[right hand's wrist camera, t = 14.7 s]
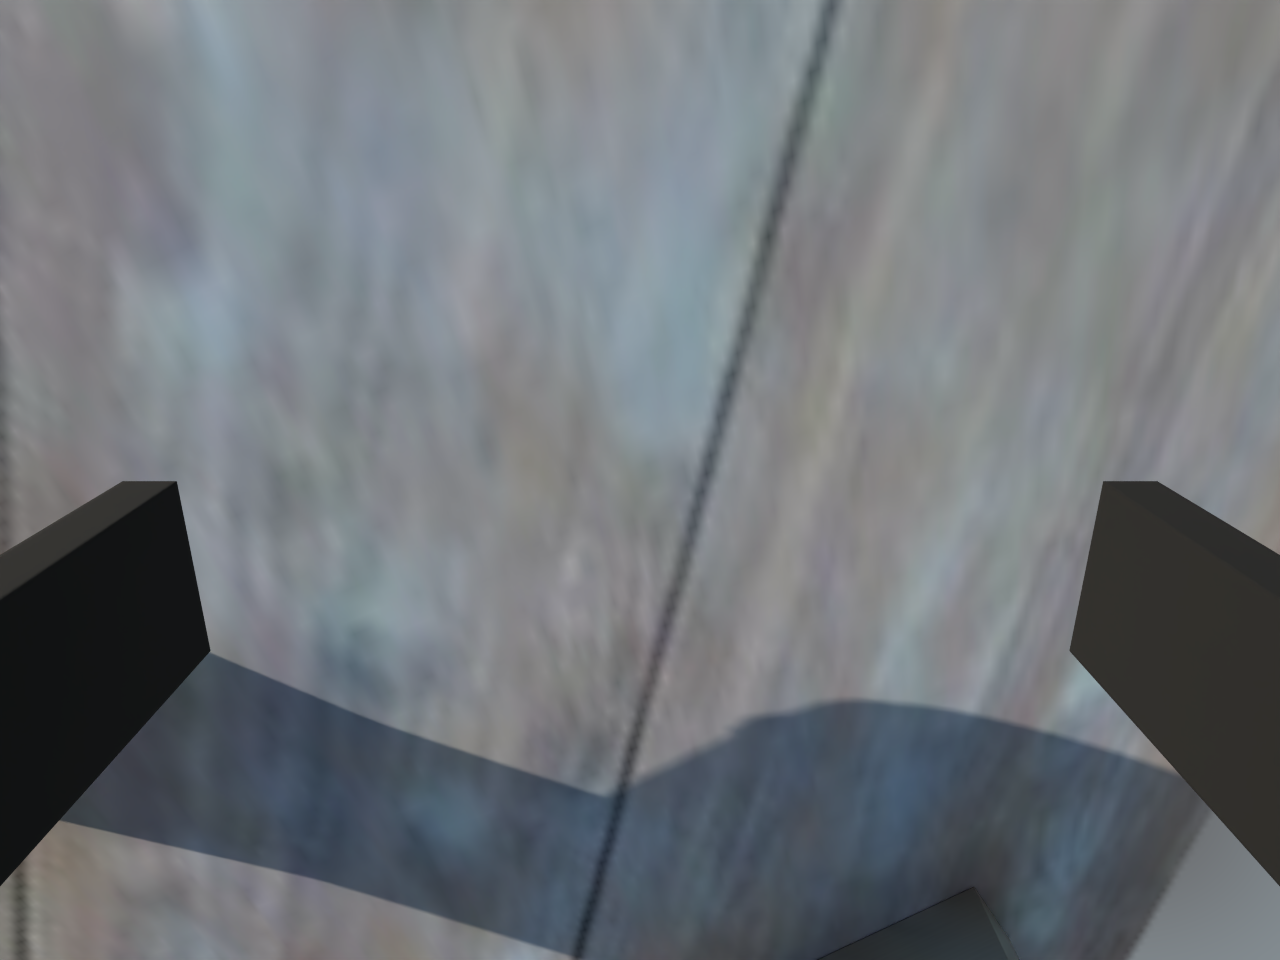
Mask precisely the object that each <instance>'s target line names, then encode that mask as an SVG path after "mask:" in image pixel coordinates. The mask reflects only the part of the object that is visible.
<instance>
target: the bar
mask: <svg viewBox="0 0 1280 960" xmlns="http://www.w3.org/2000/svg"><path fill="white" fill-rule="evenodd" d="M819 960H1019V958H1018V956H1017V954H1016V952H1015V950H1014V948H1013V946H1012V944H1011V942H1010V940H1009V938H1008V937H1007V935H1006V934H1005V932H1004V931H1003V929H1002V928H1001V926H1000V925H999V923H998V922H997V920H996V919H995V917H994V916H993V914H992V913H991V911H990V910H989V908H988V907H987V905H986V904H985V902H984V901H983V899H982V898H981V896H980V895H979V893H978V892H977V890H976V889H975V888H974V887H973V888H971V889H969V890H967V891H964V892H962V893H960V894H958V895H956V896H954V897H952V898H949V899H947V900H945V901H943V902H941V903H939V904H937V905H934V906H932V907H930V908H928V909H926V910H924V911H922V912H919V913H917V914H915V915H913V916H911V917H909V918H907V919H904V920H902V921H900V922H898V923H896V924H894V925H892V926H889V927H887V928H885V929H883V930H881V931H879V932H877V933H874V934H872V935H870V936H868V937H866V938H864V939H862V940H859V941H857V942H855V943H853V944H851V945H849V946H846V947H844V948H842V949H840V950H838V951H836V952H834V953H831V954H829V955H827V956H825V957H823V958H821V959H819Z"/></svg>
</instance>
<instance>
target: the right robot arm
mask: <svg viewBox="0 0 1280 960" xmlns="http://www.w3.org/2000/svg"><path fill="white" fill-rule="evenodd" d="M209 652H210V646H209V641H208V636H207V631H206V626H205V621H204V616H203V611H202V606H201V601H200V596H199V591H198V586H197V581H196V576H195V571H194V566H193V561H192V556H191V551H190V546H189V541H188V536H187V531H186V526H185V521H184V516H183V511H182V506H181V500H180V495H179V490H178V485H177V481H122V482H121V483H119V484H117V485H116V486H114V487H112V488H111V489H109V490H107V491H106V492H104V493H102V494H101V495H99V496H98V497H96V498H94V499H93V500H91V501H89V502H88V503H86V504H84V505H83V506H81V507H79V508H78V509H76V510H74V511H73V512H71V513H69V514H68V515H66V516H64V517H63V518H61V519H59V520H58V521H56V522H54V523H53V524H51V525H49V526H48V527H46V528H44V529H43V530H41V531H39V532H38V533H36V534H34V535H33V536H31V537H29V538H28V539H26V540H24V541H23V542H21V543H19V544H18V545H16V546H14V547H13V548H11V549H10V550H8V551H6V552H5V553H3V554H1V555H0V886H1V885H2V884H3V883H4V881H5V880H6V879H7V878H8V877H9V876H10V875H11V874H12V872H13V871H14V870H15V869H16V868H17V867H18V866H19V865H20V863H21V862H22V861H23V860H24V859H25V858H26V857H27V856H28V855H29V853H30V852H31V851H32V850H33V849H34V848H35V847H36V846H37V844H38V843H39V842H40V841H41V840H42V839H43V838H44V837H45V835H46V834H47V833H48V832H49V831H50V830H51V829H52V828H53V827H54V825H55V824H56V823H57V822H58V821H59V820H60V819H61V818H62V816H63V815H64V814H65V813H66V812H67V811H68V810H69V809H70V807H71V806H72V805H73V804H74V803H75V802H76V801H77V800H78V799H79V797H80V796H81V795H82V794H83V793H84V792H85V791H86V790H87V788H88V787H89V786H90V785H91V784H92V783H93V782H94V781H95V779H96V778H97V777H98V776H99V775H100V774H101V773H102V772H103V771H104V769H105V768H106V767H107V766H108V765H109V764H110V763H111V762H112V760H113V759H114V758H115V757H116V756H117V755H118V754H119V753H120V752H121V750H122V749H123V748H124V747H125V746H126V745H127V744H128V743H129V741H130V740H131V739H132V738H133V737H134V736H135V735H136V734H137V732H138V731H139V730H140V729H141V728H142V727H143V726H144V725H145V724H146V722H147V721H148V720H149V719H150V718H151V717H152V716H153V715H154V713H155V712H156V711H157V710H158V709H159V708H160V707H161V706H162V704H163V703H164V702H165V701H166V700H167V699H168V698H169V697H170V696H171V694H172V693H173V692H174V691H175V690H176V689H177V688H178V687H179V685H180V684H181V683H182V682H183V681H184V680H185V679H186V678H187V676H188V675H189V674H190V673H191V672H192V671H193V670H194V669H195V668H196V666H197V665H198V664H199V663H200V662H201V661H202V660H203V659H204V657H205V656H206V655H207V654H208V653H209ZM1070 652H1071V653H1072V654H1073V655H1074V656H1075V657H1076V659H1077V660H1078V661H1079V662H1080V663H1081V664H1082V665H1083V666H1084V668H1085V669H1086V670H1087V671H1088V672H1089V673H1090V674H1091V675H1092V676H1093V678H1094V679H1095V680H1096V681H1097V682H1098V683H1099V684H1100V685H1101V687H1102V688H1103V689H1104V690H1105V691H1106V692H1107V693H1108V694H1109V696H1110V697H1111V698H1112V699H1113V700H1114V701H1115V702H1116V703H1117V704H1118V706H1119V707H1120V708H1121V709H1122V710H1123V711H1124V712H1125V713H1126V715H1127V716H1128V717H1129V718H1130V719H1131V720H1132V721H1133V722H1134V724H1135V725H1136V726H1137V727H1138V728H1139V729H1140V730H1141V731H1142V732H1143V734H1144V735H1145V736H1146V737H1147V738H1148V739H1149V740H1150V741H1151V743H1152V744H1153V745H1154V746H1155V747H1156V748H1157V749H1158V750H1159V752H1160V753H1161V754H1162V755H1163V756H1164V757H1165V758H1166V759H1167V760H1168V762H1169V763H1170V764H1171V765H1172V766H1173V767H1174V768H1175V769H1176V771H1177V772H1178V773H1179V774H1180V775H1181V776H1182V777H1183V778H1184V779H1185V781H1186V782H1187V783H1188V784H1189V785H1190V786H1191V787H1192V788H1193V790H1194V791H1195V792H1196V793H1197V794H1198V795H1199V796H1200V797H1201V799H1202V800H1203V801H1204V802H1205V803H1206V804H1207V805H1208V806H1209V807H1210V809H1211V810H1212V811H1213V812H1214V813H1215V814H1216V815H1217V816H1218V818H1219V819H1220V820H1221V821H1222V822H1223V823H1224V824H1225V825H1226V826H1227V828H1228V829H1229V830H1230V831H1231V832H1232V833H1233V834H1234V835H1235V837H1236V838H1237V839H1238V840H1239V841H1240V842H1241V843H1242V844H1243V846H1244V847H1245V848H1246V849H1247V850H1248V851H1249V852H1250V853H1251V855H1252V856H1253V857H1254V858H1255V859H1256V860H1257V861H1258V862H1259V863H1260V865H1261V866H1262V867H1263V868H1264V869H1265V870H1266V871H1267V872H1268V874H1269V875H1270V876H1271V877H1272V878H1273V879H1274V880H1275V881H1276V883H1277V884H1278V885H1279V886H1280V555H1279V554H1277V553H1275V552H1274V551H1272V550H1270V549H1269V548H1267V547H1266V546H1264V545H1262V544H1261V543H1259V542H1257V541H1256V540H1254V539H1252V538H1251V537H1249V536H1247V535H1246V534H1244V533H1242V532H1241V531H1239V530H1237V529H1236V528H1234V527H1232V526H1231V525H1229V524H1227V523H1226V522H1224V521H1222V520H1221V519H1219V518H1217V517H1216V516H1214V515H1212V514H1211V513H1209V512H1207V511H1206V510H1204V509H1202V508H1201V507H1199V506H1197V505H1196V504H1194V503H1192V502H1191V501H1189V500H1187V499H1186V498H1184V497H1182V496H1181V495H1179V494H1178V493H1176V492H1174V491H1173V490H1171V489H1169V488H1168V487H1166V486H1164V485H1163V484H1161V483H1159V482H1158V481H1103V485H1102V490H1101V495H1100V500H1099V506H1098V511H1097V516H1096V521H1095V526H1094V531H1093V536H1092V541H1091V546H1090V551H1089V556H1088V561H1087V566H1086V571H1085V576H1084V581H1083V586H1082V591H1081V596H1080V601H1079V606H1078V611H1077V616H1076V621H1075V626H1074V631H1073V636H1072V641H1071V646H1070Z"/></svg>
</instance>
